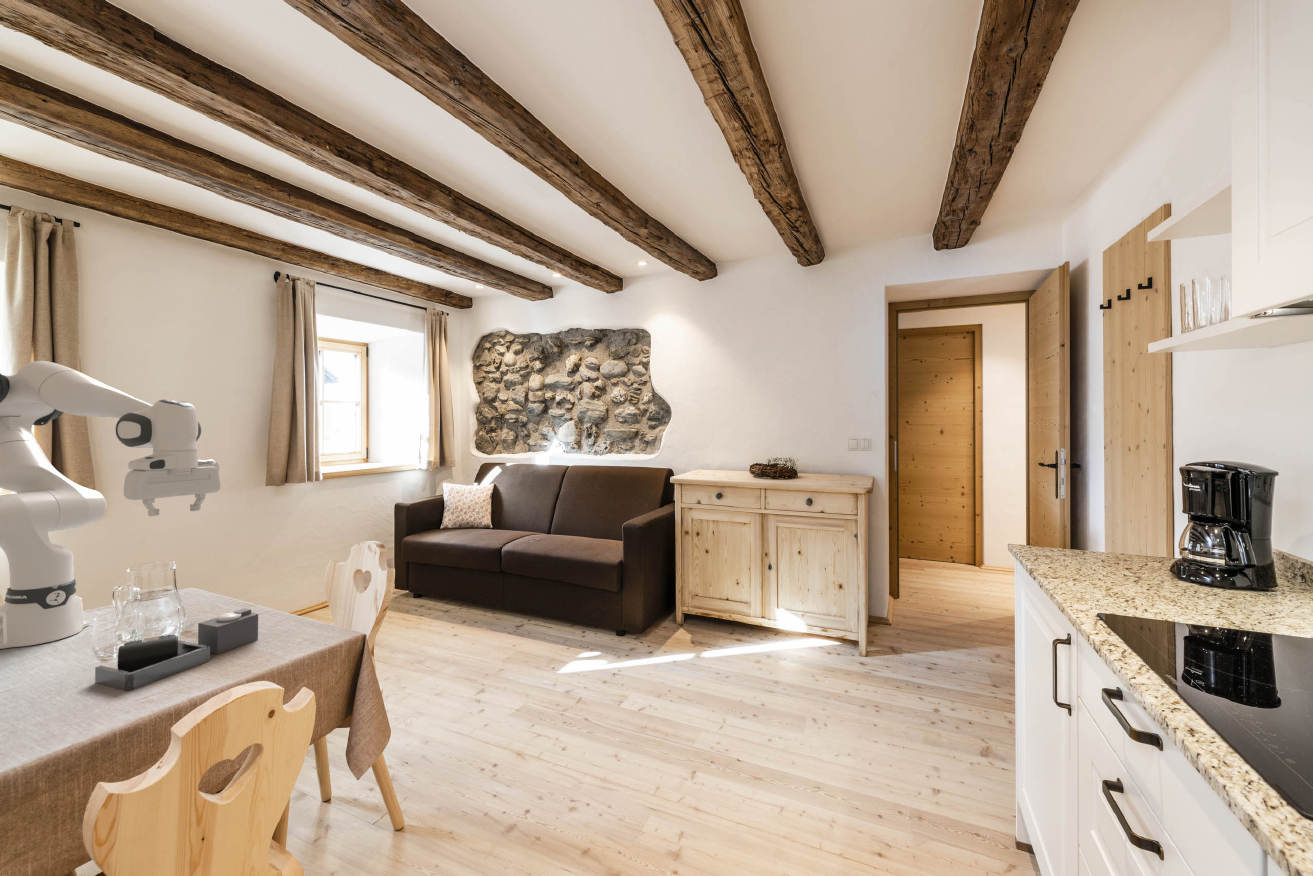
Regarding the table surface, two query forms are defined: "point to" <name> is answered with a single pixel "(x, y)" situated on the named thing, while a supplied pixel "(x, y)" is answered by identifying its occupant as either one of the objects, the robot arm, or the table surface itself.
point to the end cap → (146, 652)
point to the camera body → (228, 631)
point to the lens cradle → (154, 668)
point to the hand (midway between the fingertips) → (175, 513)
